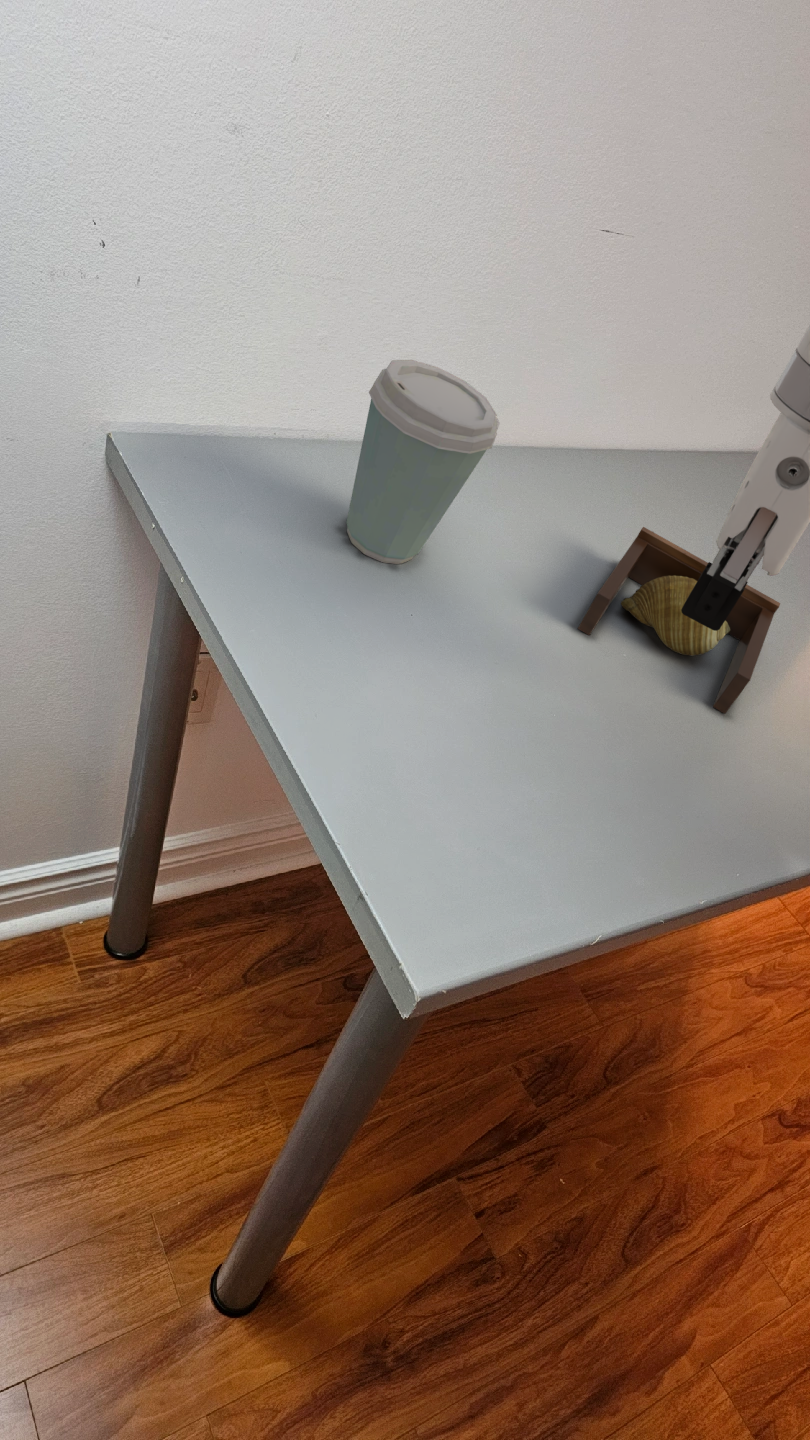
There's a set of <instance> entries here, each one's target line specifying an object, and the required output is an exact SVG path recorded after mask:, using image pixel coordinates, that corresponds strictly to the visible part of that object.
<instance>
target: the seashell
mask: <svg viewBox="0 0 810 1440" xmlns="http://www.w3.org/2000/svg"><path fill="white" fill-rule="evenodd" d="M696 583H697V581H696V580H694V579H693V578H688V577H683V576H663V577H659V578H656V579H654V580H651V581H650V582H647V583H645V584H644V585H640V586H639V588H637V589H636V591H635V592H634V593H632V595H631V596H629V597H625V598H624V599H623V600H621V601H620V605H621V607H622V608H623V609H624V610H626V611H627V612H629V613H630V614H631V615H632V616H633V617H634V618H635V619H637V621H638V622H640V623H642V624H644V625H645V626H647V627H650V628H653V629H654V631H655V633H656V635H657V637H658V639H659V640H660V641H661V642H662V644H664V645H665V646H666V647H667V648H668V649H669V650H670V651H673V652H675V653H678V654H680V655H683V656H692V657H694V656H699V655H704V654H705V653H709V652H710V651H711V650H713V649H714V648H715V647H716V646H717V645H718V644H719V641H721V640H723V638H725V636H726V635H728V632H729V631H730V628H729V626H728V623H727V622H726V621H725V622H724V623H723V625H722V626H721V628H720V629H719V630H717V631H714V630H712V629H710V628H708V627H706V626H704V625H702V624H700V623H698V622H697V621H695V620H693V619H691V618H689V617H687V616H685V615H684V614H683V613H682V611H681V609H682V607H683V605H684V604H685V602H686V600H687V598H688V596H689V595H690V593H691V591H692V590H693V588H694V586H695V584H696Z"/></svg>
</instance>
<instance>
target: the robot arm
mask: <svg viewBox="0 0 810 1440" xmlns="http://www.w3.org/2000/svg"><path fill="white" fill-rule="evenodd" d="M769 398H770V400H771V403H772V404H773V406H774V407H775V408H776V409H777V410H778V411H779V412H780V413H779V415H778V416H777V419H776V420H775V422H774V424H773V426H772V427H771V429H770V431H769V433H768V434H767V436H766V438H765V439H764V441H763V443H762V445H761V447H760V448H759V450H758V452H757V453H756V456H755V457H754V459H753V461H752V462H751V465H750V466H749V469H748V471H747V472H746V475H745V477H744V478H743V480H742V483H741V485H740V487H739V489H738V490H737V493H736V495H735V497H734V499H733V501H732V503H731V504H730V505H731V506H730V508H729V510H728V512H727V514H726V517H725V519H724V521H723V524H722V526H721V529H720V530H719V533H718V536H717V538H716V540H715V543H716V546H717V548H718V552H717V554H716V555H715V557H714V558H713V561H712V562H710V561H707V562H708V564H707V566H706V568H705V569H704V571H703V573H702V574H701V576H700V578H699V579H698V581H697V583H696V584H695V586H694V588H693V590H692V591H691V593H690V595H689V596H688V598H687V600H686V602H685V604H684V605H683V607H682V609H681V611H682V613H683V614H684V615H685V616H687V617H689V618H691V619H693V620H695V621H697V622H698V623H700V624H702V625H704V626H706V627H708V628H710V629H712V630H714V631H717V630H719V629H720V628H721V626H722V625H723V623H724V622H725V620H726V618H727V617H728V615H729V614H730V612H731V610H732V609H733V607H734V606H735V604H736V602H737V601H738V599H739V598H740V596H741V595H742V593H743V591H744V589H745V586H746V585H748V583H749V582H748V580H749V579H750V577H751V576H752V574H753V573H754V571H755V570H756V568H757V566H758V565H760V562H761V560H762V564H761V570H763V571H765V572H767V574H766V575H767V576H769V577H774V576H777V575H779V574H780V572H781V571H782V569H783V567H784V565H785V563H787V560H788V559H789V557H790V555H791V554H792V552H793V551H794V549H795V548H796V546H797V544H798V542H799V541H800V539H801V537H802V536H803V534H804V533H805V532H806V529H807V528H808V526H809V525H810V324H809V325H808V327H807V329H806V331H805V333H803V335H802V338H801V339H800V342H799V343H798V345H797V347H796V349H795V350H794V352H793V353H792V355H791V357H790V359H789V361H788V363H787V364H786V366H785V367H784V370H783V371H782V373H781V375H780V376H779V379H778V380H777V382H776V383H775V385H774V387H773V389H772V390H771V392H770V395H769Z"/></svg>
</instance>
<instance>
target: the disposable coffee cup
mask: <svg viewBox="0 0 810 1440" xmlns="http://www.w3.org/2000/svg"><path fill="white" fill-rule="evenodd" d="M368 394H369V396H370V403H369V407H368V412H367V418H366V423H365V427H364V432H363V438H362V442H361V448H360V453H359V457H358V463H357V468H356V473H355V477H354V483H353V487H352V491H351V496H350V501H349V502H350V503H349V508H348V513H347V517H346V522H345V523H346V527H347V529H346V532H347V535H348V538H349V541H350V543H351V544H352V545H353V546H354V547H356V549H358V550H359V551H360V552H361V553H362V554H364V555H366V556H367V557H369V558H372V559H374V560H376V561H378V562H381V563H386V564H395V565H402V564H403V563H407V562H409V561H412V560H413V558H414V557H416V556H418V555H419V554H420V552H421V550H422V549H423V548H424V546H425V545H426V543H427V541H428V540H429V539H430V537H431V535H432V534H433V532H434V531H435V529H436V528H437V526H438V525H439V523H440V522H441V520H442V519H443V517H444V515H445V514H446V513H447V511H448V509H449V508H450V507H451V505H452V503H453V502H454V500H455V499H456V497H457V496H458V494H459V493H460V491H461V490H462V489H463V487H464V486H465V484H466V482H467V481H468V480H469V478H470V476H471V474H472V473H473V471H474V470H475V468H476V467H477V465H478V464H479V463H480V461H481V459H482V458H483V456H484V455H485V454H486V452H487V450H489V449H490V450H491V449H493V446H494V443H495V440H496V438H497V435H498V429H499V427H500V420H499V419H498V414H497V412H496V411H495V409H494V408H493V406H492V404H491V403H490V402H489V400H488V398H487V397H486V396H485V395H484V394H482V393H481V392H480V391H479V390H477V389H476V388H475V387H474V386H472V385H471V383H468V382H467V381H466V380H464V379H463V378H460V377H458V376H456V375H454V374H452V373H450V372H449V371H447V370H445V369H443V368H440V367H438V366H435V365H432V364H428V363H425V362H422V361H417V360H415V359H393V360H391V361H390V363H389V364H388V365H387V367H386V368H384V369H382V370H381V371H380V372H379V374H378V376H377V377H376V379H375V381H374V382H373V385H371V387H370V389H369V390H368Z"/></svg>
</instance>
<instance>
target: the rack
mask: <svg viewBox="0 0 810 1440" xmlns="http://www.w3.org/2000/svg"><path fill="white" fill-rule="evenodd" d="M708 562H709V561H706V560H705V559H703V558H700V557H699V556H697V555H695V554H693V553H691V552H690V551H688V550H686V549H685V548H683V547H680V546H679V545H677V544H676V543H673V542H672V541H670V540H668V539H666V538H665V537H663V536H661V535H659V534H658V533H655V532H654V531H652V530H650V529H649V528H647V527H645V526H642V528H640V530H639V532H638V534H637V536H636V537H635V538H634V540H633V542H632V543H631V544H630V546H629V548H628V549H627V550H626V552H625V553H624V554H623V556H622V557H621V558H620V560H619V562H618V563H617V564H616V565H615V567H614V568H613V570H612V571H611V573H610V575H609V576H608V578H606V580H605V582H604V583H603V584H602V586H601V587H600V589H599V590H598V592H597V594H596V595H595V597H594V598H593V600H592V602H591V604H590V605H589V607H588V608H587V611H586V613H585V614H584V616H583V618H582V619H581V621H580V624H579V625H578V627H577V629H578V630H579V631H580V632H583V634H586V635H588V636H591V634H592V632H593V631H594V630H595V628H596V627H597V625H598V624H599V622H600V621H601V619H602V617H603V616H604V614H605V613H606V611H607V610H608V608H609V607H610V605H611V604H612V603H613V601H614V599H615V598H616V596H617V595H618V593H619V592H620V591H621V589H622V587H623V586H624V585H625V583H626V581H627V580H628V578H630V579H631V580H633V581H634V582H636V583H638V584H640V585H641V586H643V585H644V584H645V583H647V582H650V581H651V580H654V579H656V578H659V577H663V576H683V577H688V578H693V579H694V580H696V581H698V579H699V578H700V576H701V574H702V573H703V571H704V569H705V568H706V566H707V564H708ZM780 606H781V602H779V601H777V600H776V599H774V598H772V597H771V596H768V595H766V594H765V593H763V592H762V591H760V590H757V589H756V588H754V587H752V586H750V585H748V584H747V585H746V586H745V589H744V591H743V593H742V595H741V596H740V598H739V599H738V601H737V602H736V604H735V606H734V607H733V609H732V610H731V612H730V614H729V615H728V617H727V618H726V620H725V621H726V622H727V623H728V626H729V628H730V631H729V632H728V633H727V635H730V636H731V637H733V638H735V639H736V640H738V643H737V646H736V649H735V651H734V654H733V656H732V659H731V661H730V664H729V666H728V668H727V671H726V674H725V675H724V678H723V681H722V683H721V686H720V688H719V691H718V694H717V696H716V698H715V700H714V703H713V705H712V708H713V709H715V710H717V711H719V712H721V713H723V714H727V712H728V711H729V710H730V708H731V707H732V705H733V704H734V703H735V702H736V701H737V700H738V697H739V696H740V694H741V693H742V692H743V691H744V689H745V688H746V687H747V685H748V684H749V683H750V682H751V679H752V676H753V673H754V671H755V668H756V665H757V662H758V660H759V657H760V654H761V652H762V649H763V646H764V643H765V641H766V638H767V635H768V633H769V630H770V626H771V624H772V622H773V619H774V616H775V614H776V612H777V611H778V609H779V608H780Z"/></svg>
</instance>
